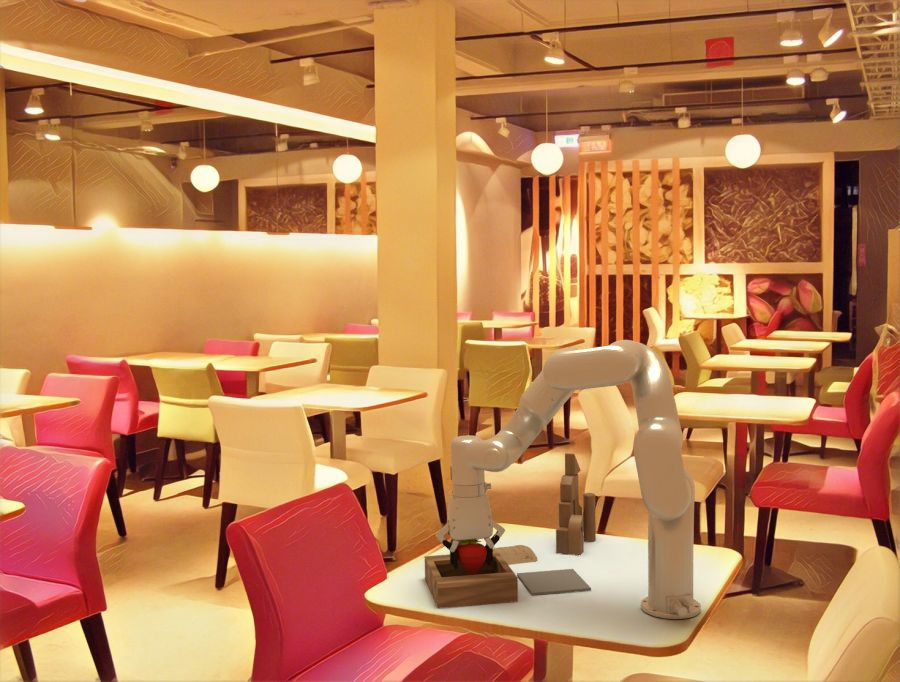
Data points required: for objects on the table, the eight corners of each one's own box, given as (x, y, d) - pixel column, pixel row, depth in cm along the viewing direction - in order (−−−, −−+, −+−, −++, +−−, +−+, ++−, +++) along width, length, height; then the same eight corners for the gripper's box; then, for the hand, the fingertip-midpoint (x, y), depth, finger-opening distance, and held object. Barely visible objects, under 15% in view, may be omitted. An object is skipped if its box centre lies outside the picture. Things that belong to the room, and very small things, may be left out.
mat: (591, 590, 220) (591, 588, 220) (531, 595, 218) (531, 592, 218) (572, 571, 234) (572, 568, 234) (517, 575, 231) (517, 573, 231)
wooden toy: (581, 556, 245) (580, 460, 243) (555, 553, 248) (554, 458, 246) (597, 539, 259) (596, 448, 257) (573, 537, 262) (572, 447, 260)
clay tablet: (482, 552, 252) (482, 542, 251) (517, 548, 255) (517, 538, 255) (503, 569, 238) (503, 558, 238) (540, 564, 241) (540, 554, 241)
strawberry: (482, 580, 218) (480, 537, 217) (452, 577, 221) (450, 534, 220) (492, 572, 223) (490, 530, 222) (462, 569, 226) (460, 528, 225)
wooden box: (517, 601, 214) (517, 577, 214) (438, 608, 211) (437, 583, 211) (498, 572, 234) (497, 550, 233) (425, 578, 231) (424, 556, 230)
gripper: (501, 483, 225) (504, 557, 227) (428, 489, 222) (432, 564, 224) (509, 490, 218) (512, 566, 219) (433, 496, 215) (437, 574, 217)
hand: (471, 565), depth 222 cm, fingers closed on strawberry, 7 cm apart
